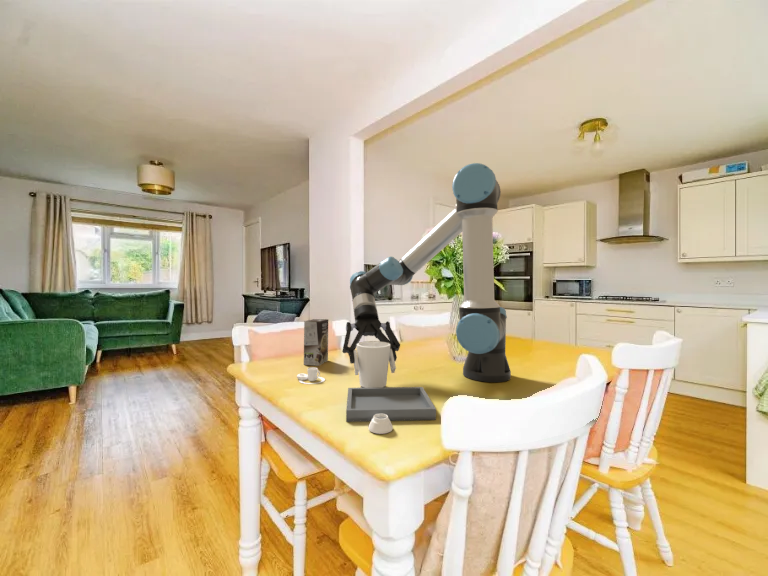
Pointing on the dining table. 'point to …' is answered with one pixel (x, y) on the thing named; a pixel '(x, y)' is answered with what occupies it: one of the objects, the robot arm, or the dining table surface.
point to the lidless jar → (380, 424)
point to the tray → (389, 404)
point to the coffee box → (315, 342)
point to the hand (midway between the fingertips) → (375, 371)
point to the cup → (373, 363)
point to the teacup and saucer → (310, 376)
